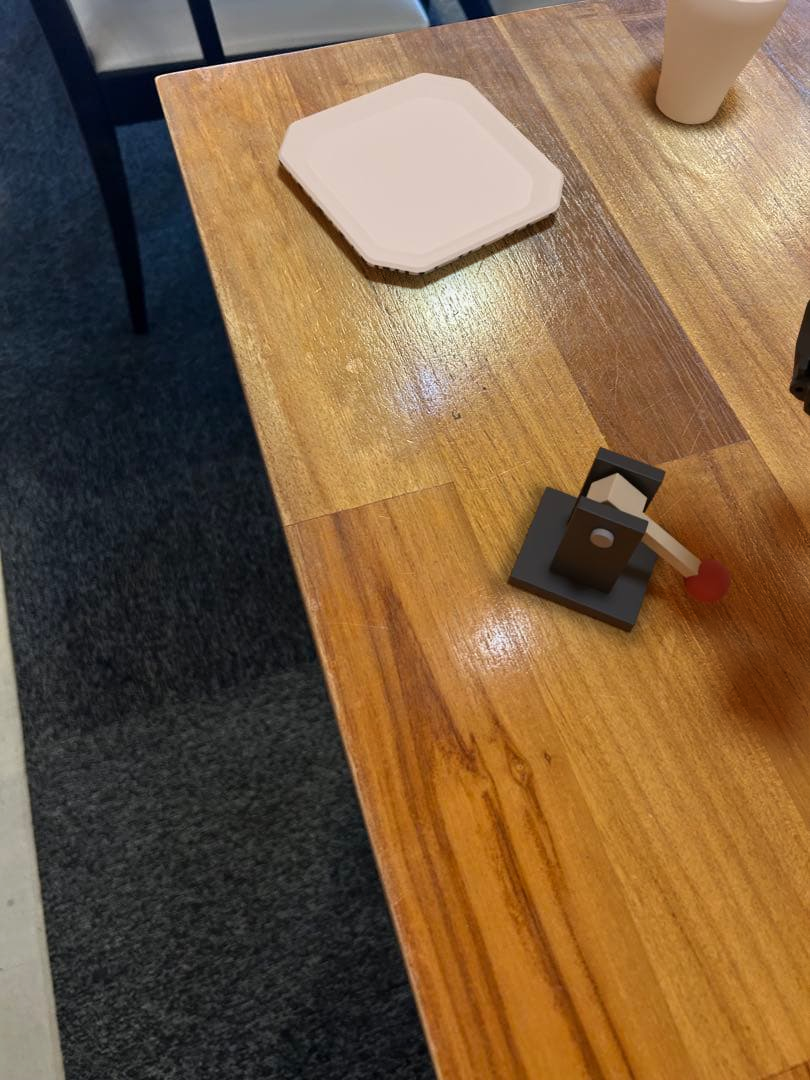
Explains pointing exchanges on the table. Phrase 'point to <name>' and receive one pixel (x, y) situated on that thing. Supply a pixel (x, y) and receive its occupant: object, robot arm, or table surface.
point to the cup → (709, 52)
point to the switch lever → (665, 541)
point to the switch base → (591, 547)
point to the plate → (420, 173)
